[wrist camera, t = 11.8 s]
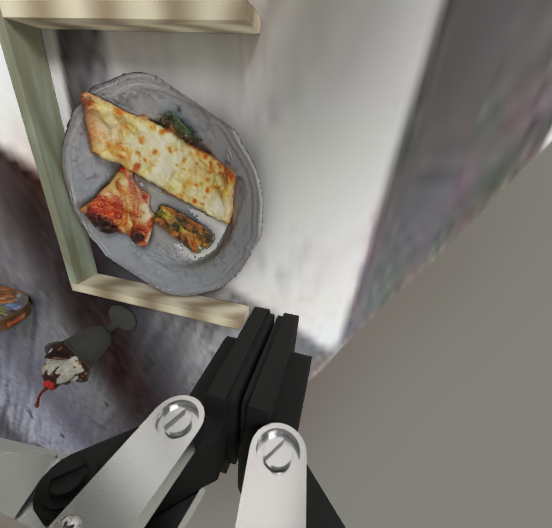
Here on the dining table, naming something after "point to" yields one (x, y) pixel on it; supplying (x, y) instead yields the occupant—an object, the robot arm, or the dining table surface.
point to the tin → (13, 307)
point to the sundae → (81, 351)
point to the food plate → (160, 183)
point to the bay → (49, 133)
